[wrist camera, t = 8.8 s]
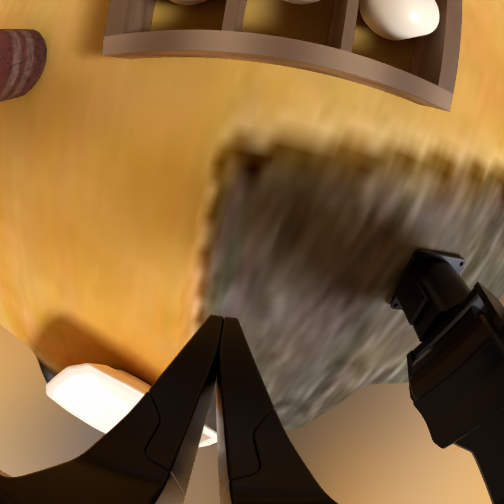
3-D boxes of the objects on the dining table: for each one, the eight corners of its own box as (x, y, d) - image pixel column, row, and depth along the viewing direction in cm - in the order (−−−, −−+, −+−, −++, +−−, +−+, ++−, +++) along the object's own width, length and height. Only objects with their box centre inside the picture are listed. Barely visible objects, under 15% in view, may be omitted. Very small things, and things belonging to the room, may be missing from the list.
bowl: (241, 405, 36) (239, 440, 31) (152, 428, 45) (146, 453, 40) (103, 313, 28) (82, 353, 23) (50, 366, 36) (37, 392, 31)
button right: (417, 1, 10) (440, -7, 8) (412, 49, 12) (436, 46, 10) (361, -21, 10) (377, -36, 7) (355, 28, 12) (372, 18, 10)
